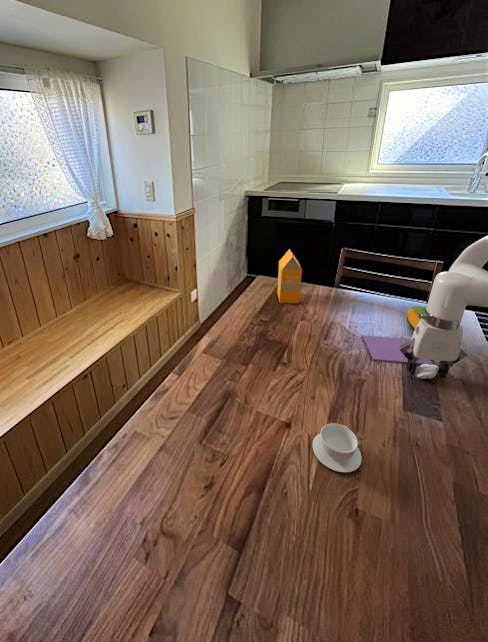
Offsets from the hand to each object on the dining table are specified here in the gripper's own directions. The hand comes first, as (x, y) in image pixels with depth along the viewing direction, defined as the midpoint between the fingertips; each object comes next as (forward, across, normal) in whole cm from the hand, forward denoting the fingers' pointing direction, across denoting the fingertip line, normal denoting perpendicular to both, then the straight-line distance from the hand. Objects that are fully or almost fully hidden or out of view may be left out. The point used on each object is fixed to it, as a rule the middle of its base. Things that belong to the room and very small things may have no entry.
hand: (425, 373), depth 93 cm
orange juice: (+1, -35, +41) cm, 54 cm away
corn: (+1, +7, +21) cm, 22 cm away
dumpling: (+1, 0, 0) cm, 1 cm away
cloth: (+1, -4, +11) cm, 12 cm away
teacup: (+1, -28, -29) cm, 40 cm away
